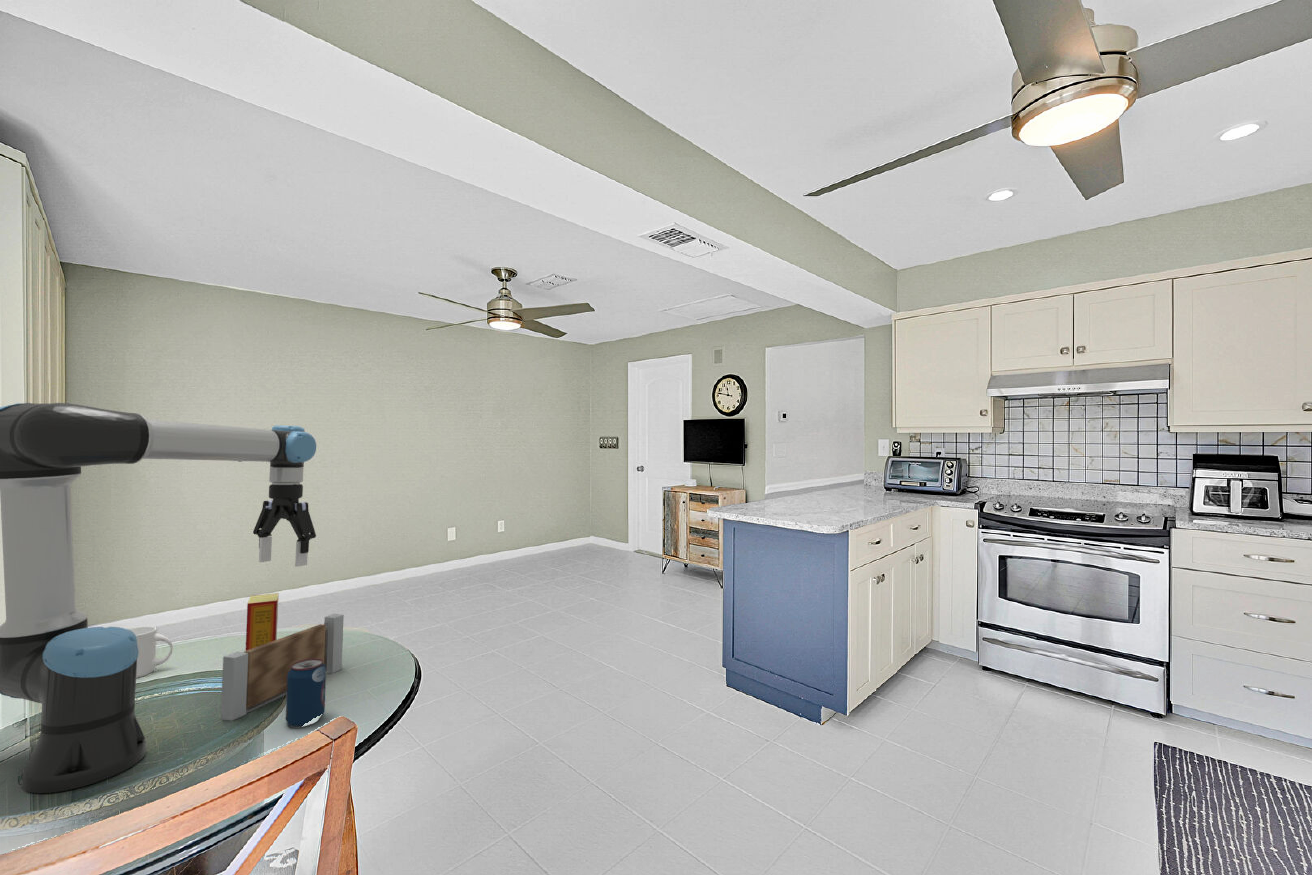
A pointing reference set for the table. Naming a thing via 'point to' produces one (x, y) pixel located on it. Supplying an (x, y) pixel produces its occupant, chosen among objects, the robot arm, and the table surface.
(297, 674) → the soda can
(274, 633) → the baking soda box
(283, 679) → the door
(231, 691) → the gray u-shaped frame
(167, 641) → the mug
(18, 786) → the table surface
